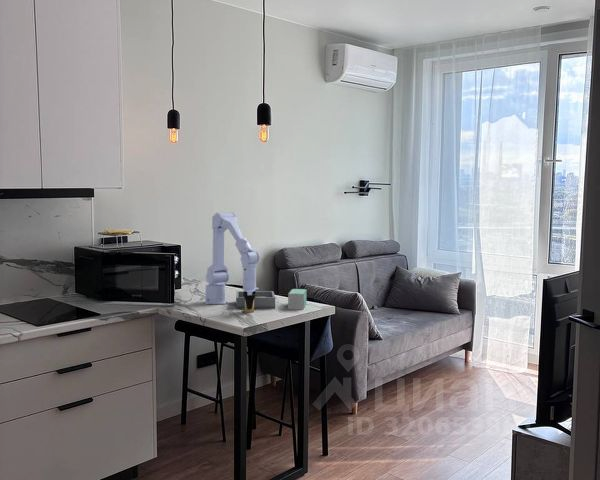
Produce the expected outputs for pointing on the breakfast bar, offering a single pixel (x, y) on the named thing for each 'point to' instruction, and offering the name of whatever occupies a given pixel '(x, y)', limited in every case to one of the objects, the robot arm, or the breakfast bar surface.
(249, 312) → the peg
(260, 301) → the crate
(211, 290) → the robot arm
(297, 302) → the box
